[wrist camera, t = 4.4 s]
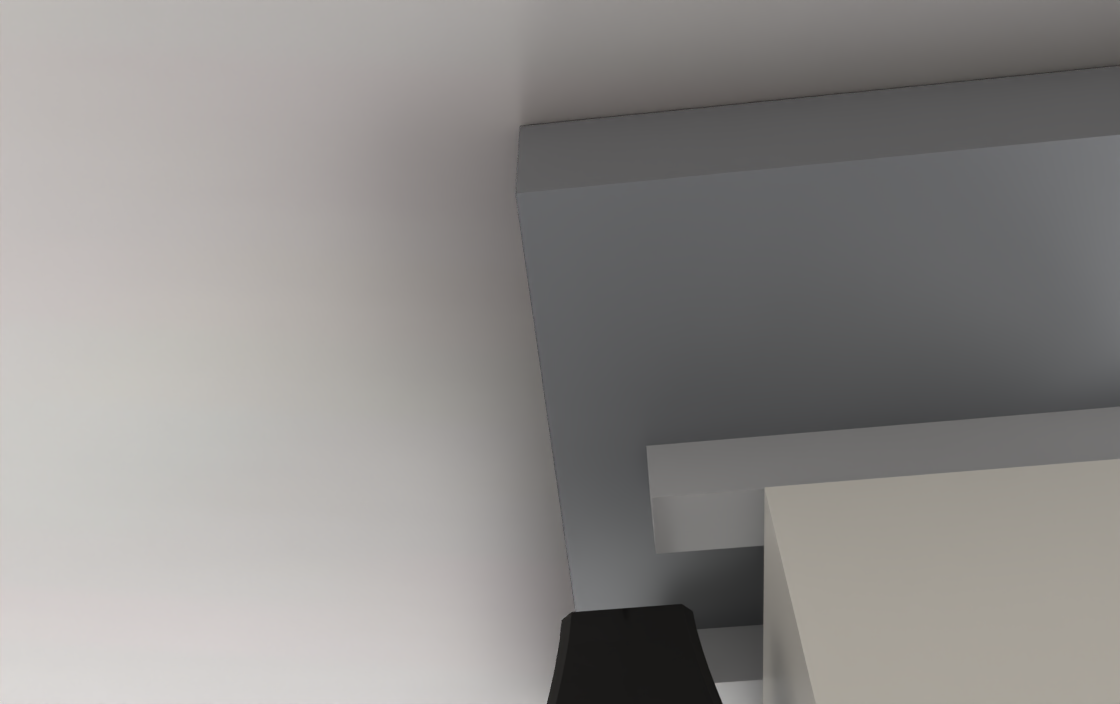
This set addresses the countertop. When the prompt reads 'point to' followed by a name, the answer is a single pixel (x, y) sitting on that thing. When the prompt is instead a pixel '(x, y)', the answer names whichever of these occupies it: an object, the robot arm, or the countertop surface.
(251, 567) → the countertop surface
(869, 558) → the fader tab
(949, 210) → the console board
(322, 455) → the countertop surface
